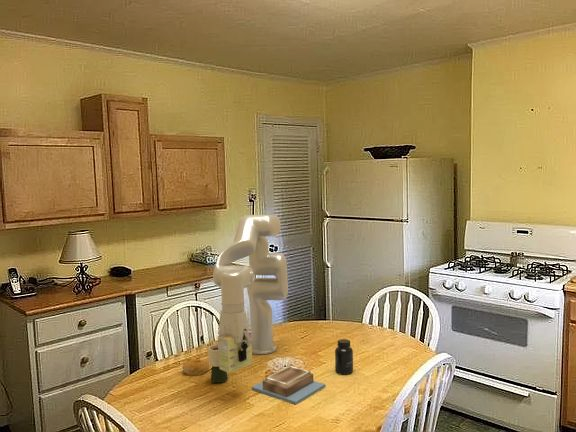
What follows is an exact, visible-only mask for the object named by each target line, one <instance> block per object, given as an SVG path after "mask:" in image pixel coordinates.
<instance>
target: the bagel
mask: <svg viewBox="0 0 576 432" xmlns="http://www.w3.org/2000/svg"><path fill="white" fill-rule="evenodd" d="M209 369H210V365H209V362H208V361H206V360H204V359H199V358H198V359H197V358H195V359H192V360H186V361H185V362H184V363H183V365H182V371H183V373H185V374H186V375H188V376H191V375H193V376H200V375H204V374H206V373H207V372H208V371H209Z"/></svg>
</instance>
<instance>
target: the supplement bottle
mask: <svg viewBox="0 0 576 432" xmlns="http://www.w3.org/2000/svg"><path fill="white" fill-rule="evenodd" d="M336 345H337V347H336V348H335V349H334V367H335V369H334V371H335V373H337V374H339V375H350V374H352V373H353V372H354V348H352V347H351V340H349V339H345V338H341V339H338V340H337V344H336Z"/></svg>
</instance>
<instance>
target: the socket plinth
mask: <svg viewBox="0 0 576 432" xmlns="http://www.w3.org/2000/svg"><path fill="white" fill-rule="evenodd" d="M262 381H263V389H264V390H267V391H270V392H273V393H276V394H279V395H282V396H285V397H288V396H290V395H292V394H294V393H295V392H297V391H299V390H301V389H302V388H304V387H306V386H308V385H309V384H311V383H313V382H314V381H315V380H314V373H312V372H311V371H310V370H307V369H302V368H299V367H296V366H292V365H287V367H283V368H282V369H280V370H279V371H276V372H274V373H272V374H270V375H268V376H265V379H264V380H262Z"/></svg>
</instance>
